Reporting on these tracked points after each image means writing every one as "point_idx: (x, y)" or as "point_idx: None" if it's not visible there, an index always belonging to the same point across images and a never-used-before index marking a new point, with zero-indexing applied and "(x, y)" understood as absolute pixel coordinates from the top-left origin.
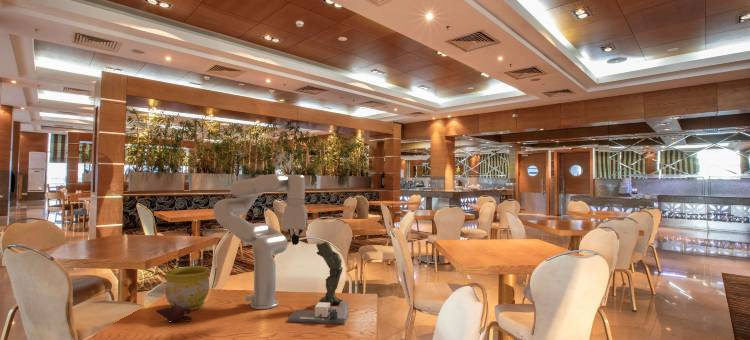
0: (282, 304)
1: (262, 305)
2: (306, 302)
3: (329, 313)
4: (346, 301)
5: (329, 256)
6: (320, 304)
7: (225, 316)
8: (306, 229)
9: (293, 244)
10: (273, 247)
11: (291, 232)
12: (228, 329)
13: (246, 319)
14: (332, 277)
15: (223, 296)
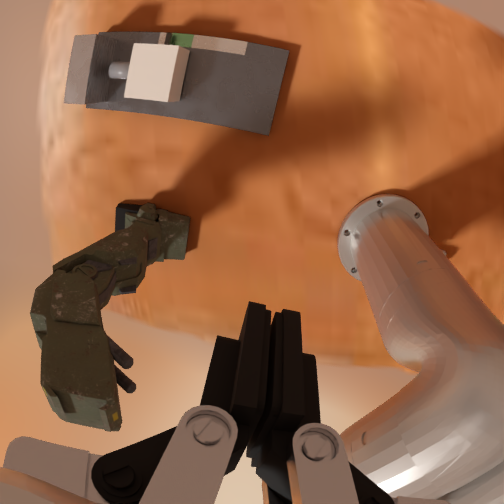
0: (323, 239)
1: (393, 208)
2: (238, 249)
3: None
4: (68, 96)
5: (64, 319)
6: (158, 73)
7: (484, 152)
8: (14, 456)
9: (285, 309)
10: (439, 391)
11: (329, 474)
12: (461, 38)
13: (430, 106)
14: (102, 256)
15: None
